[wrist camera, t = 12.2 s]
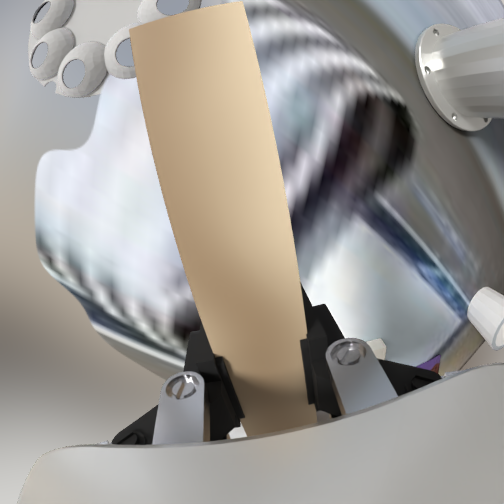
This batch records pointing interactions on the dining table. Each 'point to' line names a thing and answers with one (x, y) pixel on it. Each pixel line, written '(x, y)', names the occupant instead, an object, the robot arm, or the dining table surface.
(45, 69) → the paint palette
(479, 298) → the white cylinder
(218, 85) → the tan wooden plank
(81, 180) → the dining table surface
